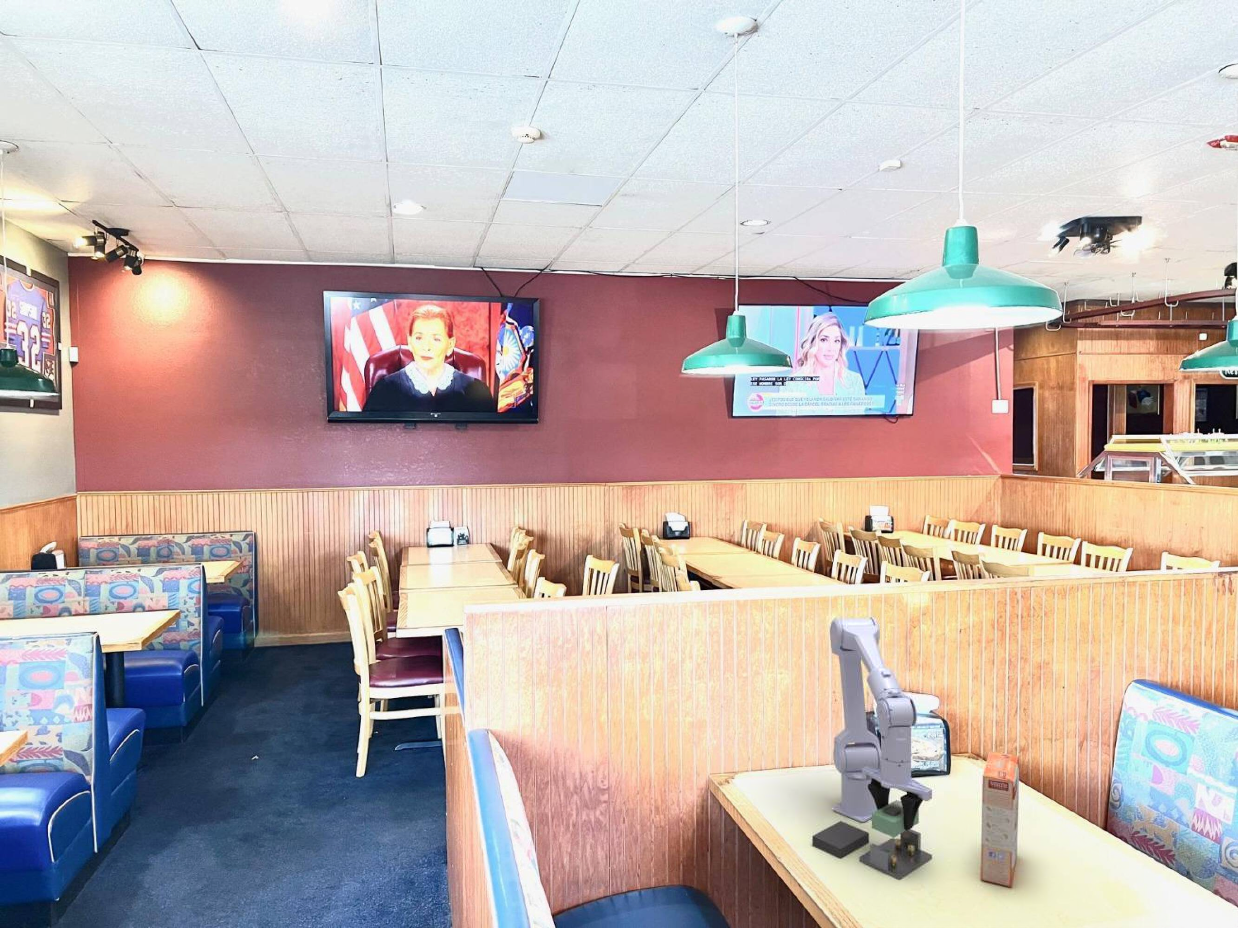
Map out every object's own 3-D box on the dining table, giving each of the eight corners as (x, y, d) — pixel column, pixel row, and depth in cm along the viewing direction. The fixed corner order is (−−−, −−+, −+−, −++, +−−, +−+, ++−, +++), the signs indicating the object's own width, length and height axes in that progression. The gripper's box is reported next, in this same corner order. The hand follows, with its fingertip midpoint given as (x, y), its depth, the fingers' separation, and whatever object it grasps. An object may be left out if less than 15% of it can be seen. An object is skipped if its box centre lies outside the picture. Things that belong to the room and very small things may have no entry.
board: (896, 814, 168) (896, 796, 168) (918, 822, 164) (918, 805, 164) (871, 827, 162) (871, 810, 162) (894, 837, 158) (894, 819, 158)
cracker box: (1014, 889, 152) (1015, 780, 152) (979, 880, 155) (980, 774, 155) (1019, 855, 165) (1020, 754, 164) (987, 848, 168) (987, 748, 167)
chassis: (892, 841, 171) (892, 821, 170) (932, 858, 164) (932, 837, 164) (859, 860, 163) (859, 840, 163) (899, 879, 156) (899, 858, 156)
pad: (840, 829, 176) (840, 820, 176) (868, 842, 170) (868, 832, 170) (812, 845, 169) (812, 835, 169) (840, 858, 164) (840, 848, 164)
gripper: (853, 751, 166) (853, 816, 166) (918, 773, 154) (918, 843, 155) (873, 742, 170) (872, 805, 171) (937, 763, 159) (937, 831, 159)
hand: (895, 823), depth 163 cm, fingers closed on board, 5 cm apart
